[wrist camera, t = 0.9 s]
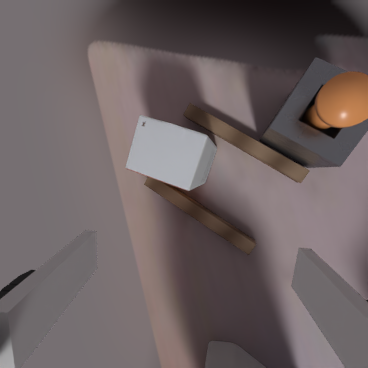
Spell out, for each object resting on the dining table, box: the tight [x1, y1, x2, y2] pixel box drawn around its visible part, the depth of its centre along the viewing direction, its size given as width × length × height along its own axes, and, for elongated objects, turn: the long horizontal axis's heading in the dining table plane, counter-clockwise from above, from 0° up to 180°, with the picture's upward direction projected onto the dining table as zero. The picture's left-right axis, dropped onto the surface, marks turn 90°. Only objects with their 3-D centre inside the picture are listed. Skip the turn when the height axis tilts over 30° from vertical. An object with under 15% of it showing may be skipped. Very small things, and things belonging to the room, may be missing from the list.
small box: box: [125, 115, 217, 191], centre depth 28 cm, size 8×6×13 cm
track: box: [144, 103, 309, 255], centre depth 33 cm, size 20×15×2 cm
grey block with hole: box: [259, 57, 368, 168], centre depth 26 cm, size 8×8×10 cm
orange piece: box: [302, 72, 368, 131], centre depth 20 cm, size 4×4×7 cm
